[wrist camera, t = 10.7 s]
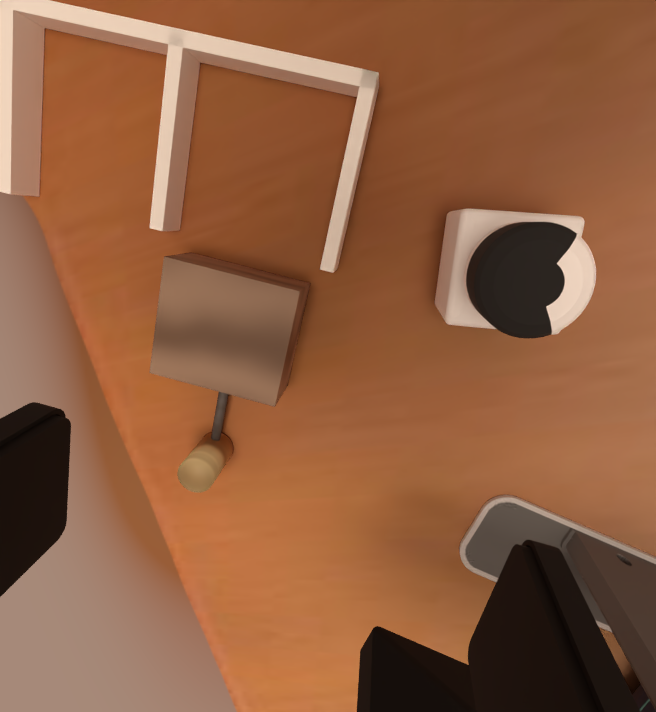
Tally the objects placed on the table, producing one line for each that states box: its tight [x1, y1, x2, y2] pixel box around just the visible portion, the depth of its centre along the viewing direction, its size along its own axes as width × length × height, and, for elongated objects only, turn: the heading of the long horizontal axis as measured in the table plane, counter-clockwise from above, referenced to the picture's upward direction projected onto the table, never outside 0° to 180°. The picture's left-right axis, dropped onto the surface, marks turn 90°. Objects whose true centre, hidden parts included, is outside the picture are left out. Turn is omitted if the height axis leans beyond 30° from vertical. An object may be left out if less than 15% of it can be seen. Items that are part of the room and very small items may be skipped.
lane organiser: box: [0, 0, 379, 273], centre depth 33 cm, size 13×26×3 cm, turn 77°
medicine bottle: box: [435, 208, 596, 338], centre depth 29 cm, size 7×7×12 cm
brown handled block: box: [150, 253, 310, 492], centre depth 37 cm, size 18×10×5 cm, turn 167°
